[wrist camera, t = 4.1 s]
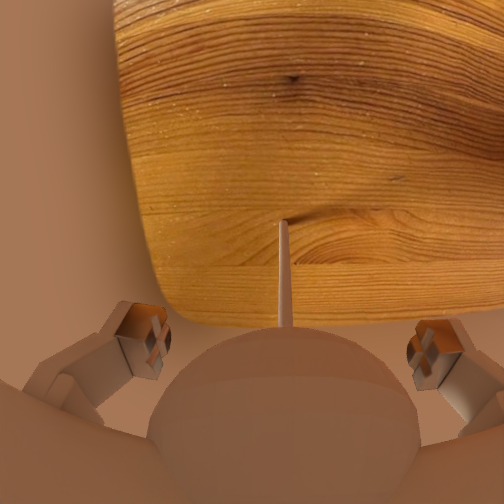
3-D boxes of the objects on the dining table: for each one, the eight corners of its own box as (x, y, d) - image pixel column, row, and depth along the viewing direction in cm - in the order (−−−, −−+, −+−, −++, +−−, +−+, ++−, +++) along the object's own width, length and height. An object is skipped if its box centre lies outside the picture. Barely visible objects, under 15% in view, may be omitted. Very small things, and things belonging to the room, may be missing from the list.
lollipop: (225, 167, 15) (35, 514, 2) (342, 168, 14) (520, 512, 1) (232, 272, 18) (168, 552, 5) (332, 273, 17) (375, 555, 4)
